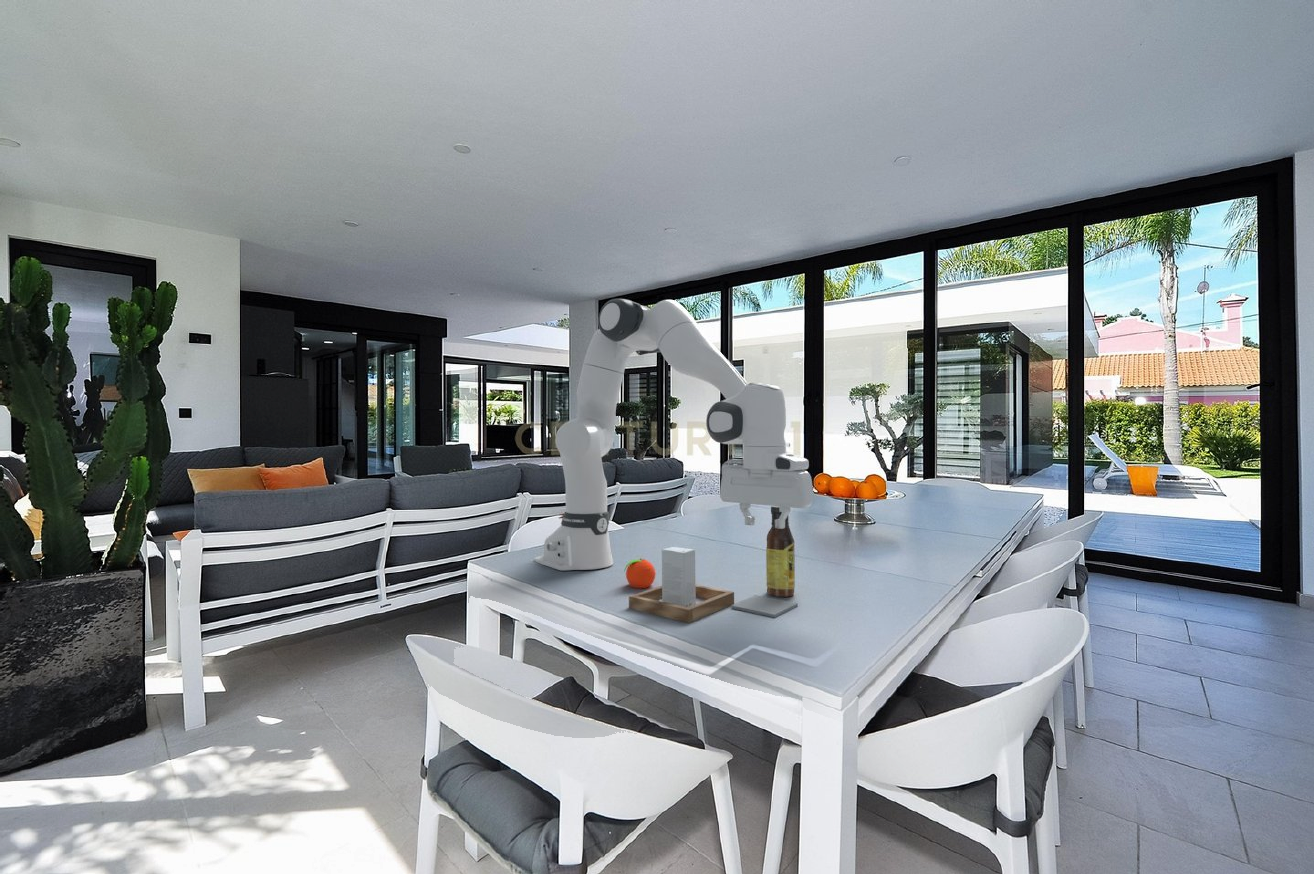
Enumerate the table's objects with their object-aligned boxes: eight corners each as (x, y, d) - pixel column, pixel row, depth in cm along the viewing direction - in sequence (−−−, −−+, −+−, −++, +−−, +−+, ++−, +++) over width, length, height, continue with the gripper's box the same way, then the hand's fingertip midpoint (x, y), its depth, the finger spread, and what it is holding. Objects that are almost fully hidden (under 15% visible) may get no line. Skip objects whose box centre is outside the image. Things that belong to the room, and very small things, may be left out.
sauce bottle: (795, 599, 129) (795, 508, 128) (766, 597, 130) (765, 507, 130) (794, 591, 135) (794, 504, 135) (766, 589, 136) (766, 504, 136)
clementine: (631, 595, 132) (631, 563, 132) (616, 588, 138) (616, 558, 138) (661, 589, 137) (661, 559, 137) (645, 583, 142) (645, 554, 142)
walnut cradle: (628, 608, 122) (628, 596, 122) (676, 591, 135) (676, 580, 135) (689, 623, 112) (688, 610, 112) (734, 603, 125) (734, 592, 125)
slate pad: (731, 608, 122) (731, 605, 122) (755, 597, 130) (755, 595, 130) (774, 617, 116) (774, 614, 116) (797, 606, 123) (797, 603, 123)
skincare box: (696, 606, 123) (696, 549, 123) (684, 611, 120) (684, 552, 120) (673, 601, 127) (673, 546, 127) (661, 605, 124) (660, 549, 124)
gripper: (714, 459, 127) (714, 523, 127) (802, 462, 114) (803, 533, 114) (729, 458, 131) (730, 520, 131) (816, 460, 119) (816, 529, 119)
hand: (764, 526), depth 122 cm, fingers open, 6 cm apart
